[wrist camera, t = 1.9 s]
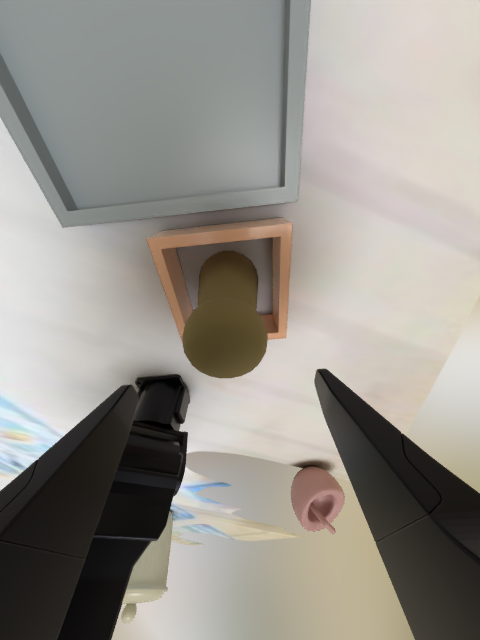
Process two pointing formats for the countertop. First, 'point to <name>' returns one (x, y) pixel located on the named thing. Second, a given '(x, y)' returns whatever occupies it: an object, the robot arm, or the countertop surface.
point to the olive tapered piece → (226, 319)
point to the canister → (149, 574)
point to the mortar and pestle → (316, 498)
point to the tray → (155, 103)
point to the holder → (168, 240)
